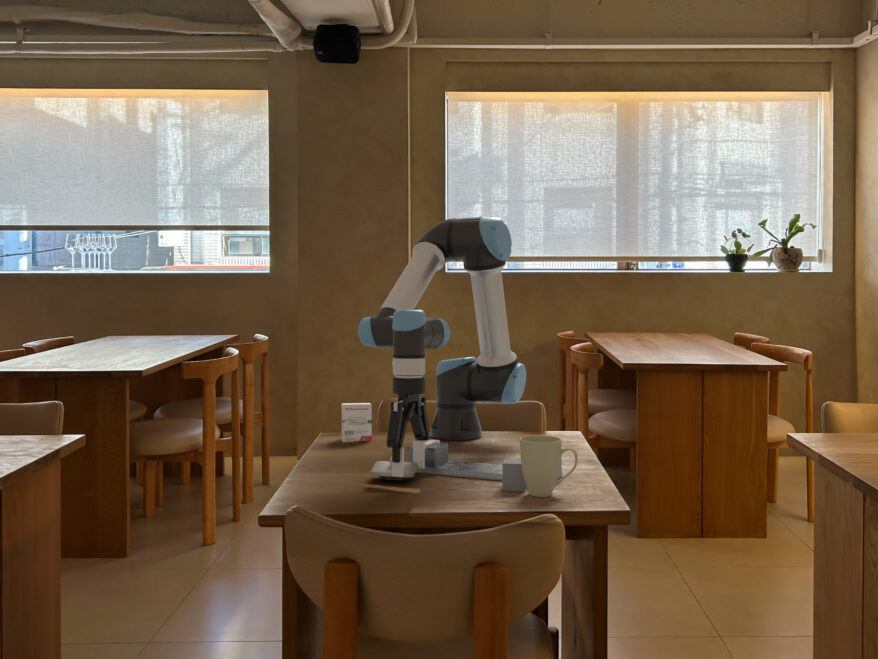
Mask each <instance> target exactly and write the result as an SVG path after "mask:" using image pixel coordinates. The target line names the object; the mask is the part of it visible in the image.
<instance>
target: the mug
mask: <svg viewBox="0 0 878 659" xmlns="http://www.w3.org/2000/svg"><path fill="white" fill-rule="evenodd" d="M562 440H563V439H562V438H561V437H558V436H554V435H553V436H552V435H540V434H539V435H538V434H537V435H525V436H522V437H521V436H520V437H519V451H520V452H519V453H520V460H521V467H522V472H523V476H524V479H525V482H526V490H527V492H528V494H529V496H532V497H537V498H545V497H547V498H548V497H551V496H552V495H553V492H554V489H555V486H556V485H557V484H559V483H561V482H562V481H564V480H565V479H567V478H568V477H569V476H571V474H572V473H573V472H574V471H575V470H576V469H577V466H578V462H579V461H578V460H579V455H578V452H577V450H576V449H575V448H574V447H569V446H567V447H562V442H563V441H562ZM567 451H572V452H573V454H574V465H573V467H572V468H571V469H570V470H569V471H568V473H567V474H565V475H563V477H561V478H560V479H559V480H557V476H558V472H559V467H560V459H561V455H563V454H565V452H567Z"/></svg>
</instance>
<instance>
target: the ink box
mask: <svg viewBox="0 0 878 659" xmlns="http://www.w3.org/2000/svg"><path fill="white" fill-rule="evenodd" d="M372 405H373V404H372V403H370V402H352V403H351V402H349V403H348V402H347V403H346V402H345V403H341V442H342V443H355V442H354V441H366V442H372V441H373V440H372V439H373V437H372V435H373V434H372V433H373V431H372V430H373V429H372V428H373V425H372V424H373V422H372V421H373V417H372V416H373V414H372V413H373V411H372V410H373V409H372V407H373V406H372Z"/></svg>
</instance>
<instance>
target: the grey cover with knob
mask: <svg viewBox="0 0 878 659" xmlns="http://www.w3.org/2000/svg"><path fill="white" fill-rule="evenodd" d="M416 468H417V463H413V462H409V461H404V477H395V476H392V456H390V457H389V461H388V460H385V461H384V460H378V461H375V463H374V465H373V466H372V469H371V471H370V476H373V477H374V476H375V477H376V476H377V477H379V479H384V480H386V481H387V480H388V481H403V480H404V478H413V477H414V476H415V474H416V472H415V471H416Z"/></svg>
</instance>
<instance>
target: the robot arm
mask: <svg viewBox="0 0 878 659" xmlns="http://www.w3.org/2000/svg"><path fill="white" fill-rule="evenodd" d="M511 235H512V234H511V233H510V229H509V227H508V225H507V224H506V222H505V221H504V220H503V219H501V218H500V217H497V216H491V217H490V216H486V215H485V216H476V217H475V216H474V217H461V218H455V217H454V218H448V219H445V220H442V221H440V222H438V223H436V224H434V225H433V226H431V228H429V229H428V230H426V232H424V233H423V234H422V235H421V237H419V239H418V240H417V241H416V243H415V244H414V246H413V248H412V250H411V255H412V256H411V257H410V259H409V261H408V262H407V264H406V266H405V268H404V269H403V271H402V272H401V274H400V276H399V277H398V279H397V281H396V282H395V283H394V286H393V288H392V289H391V291H390V292H389V294H388V295H387V297H386V298H385V300H384V302H383V304H382V305H381V307H380V308H379V310H378V311H377V313H376V315H375V316H373V315H371V316H366V317H364V318H362V319H361V320H360V322H359V325H358V330H357V331H358V332H357V333H358V338H359V340H360V342H361V344H362V345H363V346H365V347H369V348H370V347H371V348H377V349H379V348H381V349H382V348H386V349H387V348H388V349H389V348H392V362H391V365H392V374H393V376H394V377H393V378H392V393H393V394H395V395H398V396H397V401H392V402H390V415H389V416H390V417H389V423H388V429H387V438H386V447H387V448H391V457H392V476H395V477H404V462H405V447H403V444H404V440H405V436H406V432H407V428H408V425H409V422H410V424H411V429H412V433H413V436H414V440H412V445H413V463H417V468H422V469H424V468H425V442H426V441H429V440H430V437H431V438H434V439H437V440H448V441H449V440H451V441H454V440H455V441H460V440H461V441H462V440H475V439H479V438H481V437H482V426H481V423H480V420H479V417H478V416H479V415H478V413H477V411H476V408H477V407H476V405H477V404H476V402H477V403H490V404H501V405H504V404H517V403H518V402H519V401H520V400H521V398H522V396H523V394H524V391H525V388H526V382H527V369H526V366H525V364H523V363H521V362H518V356H517V354H516V352H513V351H512V349H511V342H510V335H509V326H508V317H507V309H506V307H507V306H506V300H505V292H504V281H503V273H502V270H503V269H504V267H505V266H506V265H507V262H506V260H508V259H509V258H510V256H511V254H512V247H513V245H512V244H513V243H512V237H511ZM453 261H455V262H462V264H463V270H464V271H466V273H468V274H469V275H470V280H471V290H472V297H473V306H474V313H475V314H474V315H475V321H476V328H477V336H478V343H479V352H480V354H479V355H478V357H477V358H476V357H475V356H468V357H458V358H451V359H443V360H439V361H438V363H437V364H436V371H435V372H436V374H435V381H436V382H435V387H436V388H435V389H436V390H435V394H436V396H435V398H436V400H435V402H436V404H435V405H436V408H435V409H436V410H435V413H434V417H433V419H432V422H431V426H430V429H429V421H428V412H427V407H426V406H427V397H425V396H420V395H423V394H425V393H426V378H425V377H424V375H426V350H428V349H431V350H433V349H434V350H436V349H439V348H442V347H444V346H445V345H447V343H448V342H449V340H450V336H451V329H450V326H449V323H448V322H446V320H444V319H443V318H440V317H436V316H431V317H426V312H425V310H423V309H415V308H416V307H417V305H418V303H419V301H420V300H421V298H422V296H423V294H424V293H425V291H426V290H427V288H428V286H429V284H430V283H431V281H432V279H433V278H434V275H435V273H437V271H440V270H441V269H442V268H443V267H444V265H445V264H447V263H448V262H453ZM404 478H405V477H404Z"/></svg>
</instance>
